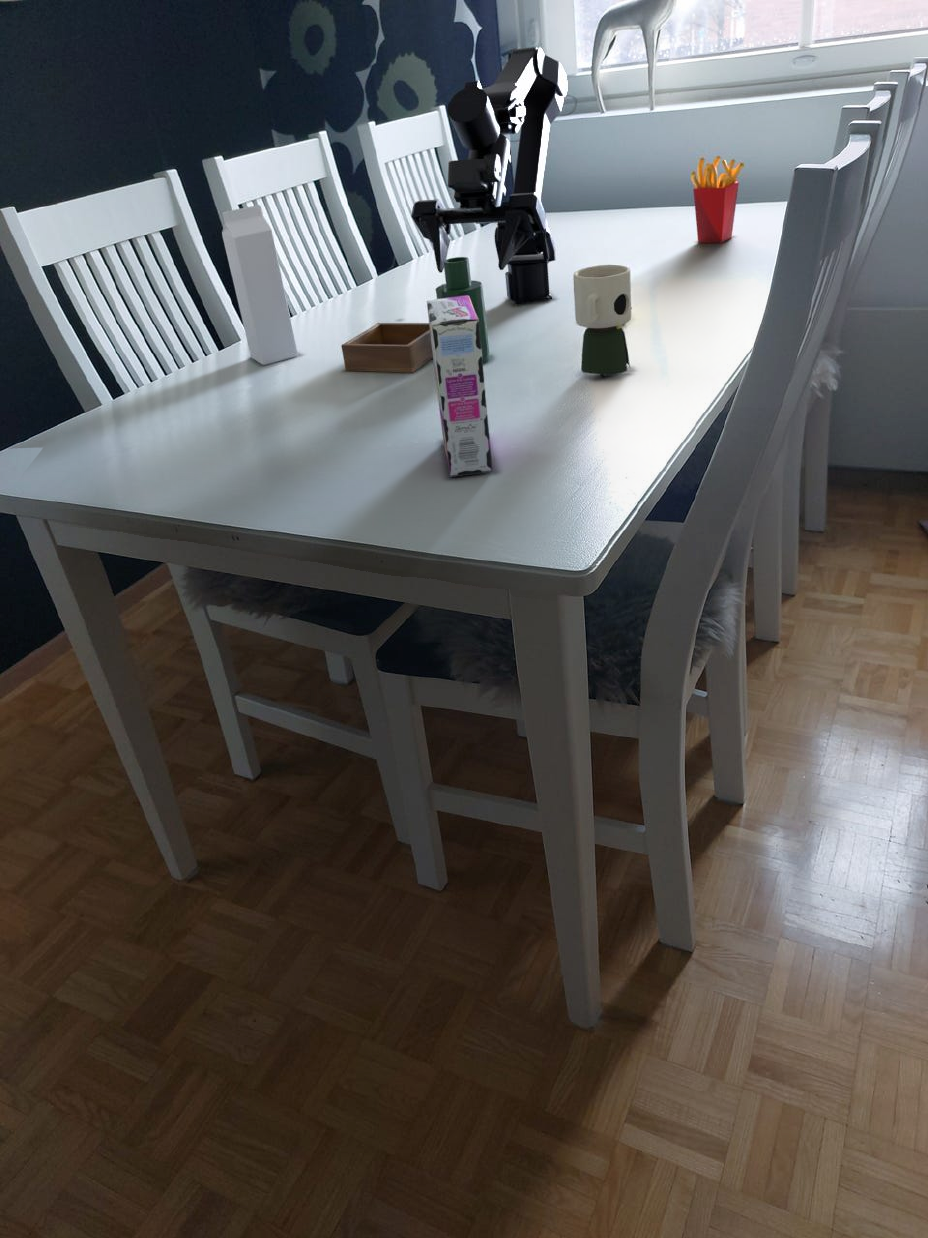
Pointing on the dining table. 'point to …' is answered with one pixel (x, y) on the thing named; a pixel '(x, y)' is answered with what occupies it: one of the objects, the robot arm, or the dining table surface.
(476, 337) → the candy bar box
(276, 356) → the milk
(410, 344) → the crate
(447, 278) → the bottle
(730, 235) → the french fries
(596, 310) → the character mug
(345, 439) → the dining table surface
